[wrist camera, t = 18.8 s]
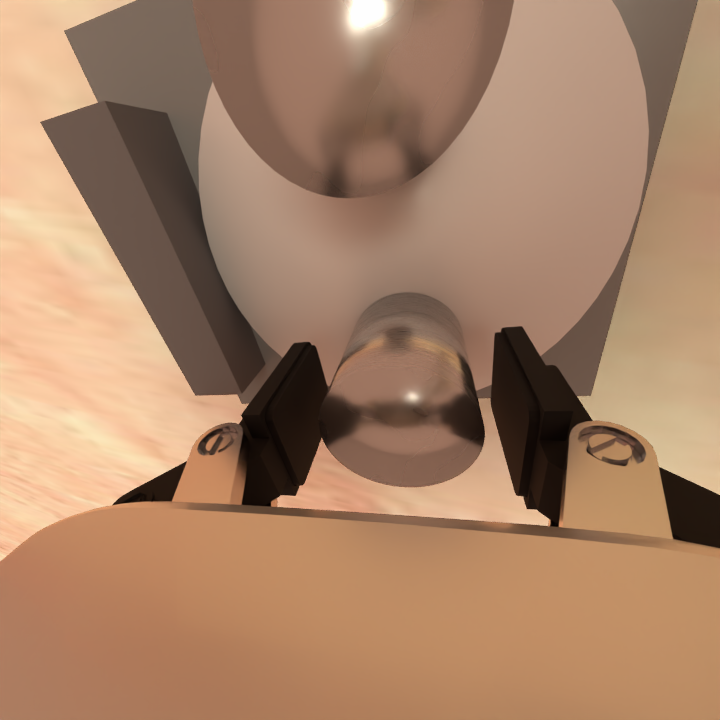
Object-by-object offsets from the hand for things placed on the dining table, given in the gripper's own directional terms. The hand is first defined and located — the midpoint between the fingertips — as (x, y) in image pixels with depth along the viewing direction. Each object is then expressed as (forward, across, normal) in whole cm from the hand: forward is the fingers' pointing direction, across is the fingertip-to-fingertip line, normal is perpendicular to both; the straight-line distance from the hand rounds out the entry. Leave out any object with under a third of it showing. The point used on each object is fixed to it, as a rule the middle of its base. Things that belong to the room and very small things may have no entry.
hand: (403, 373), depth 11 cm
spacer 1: (+2, 0, -8) cm, 8 cm away
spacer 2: (+2, 0, 0) cm, 2 cm away
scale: (+6, +1, -4) cm, 7 cm away
